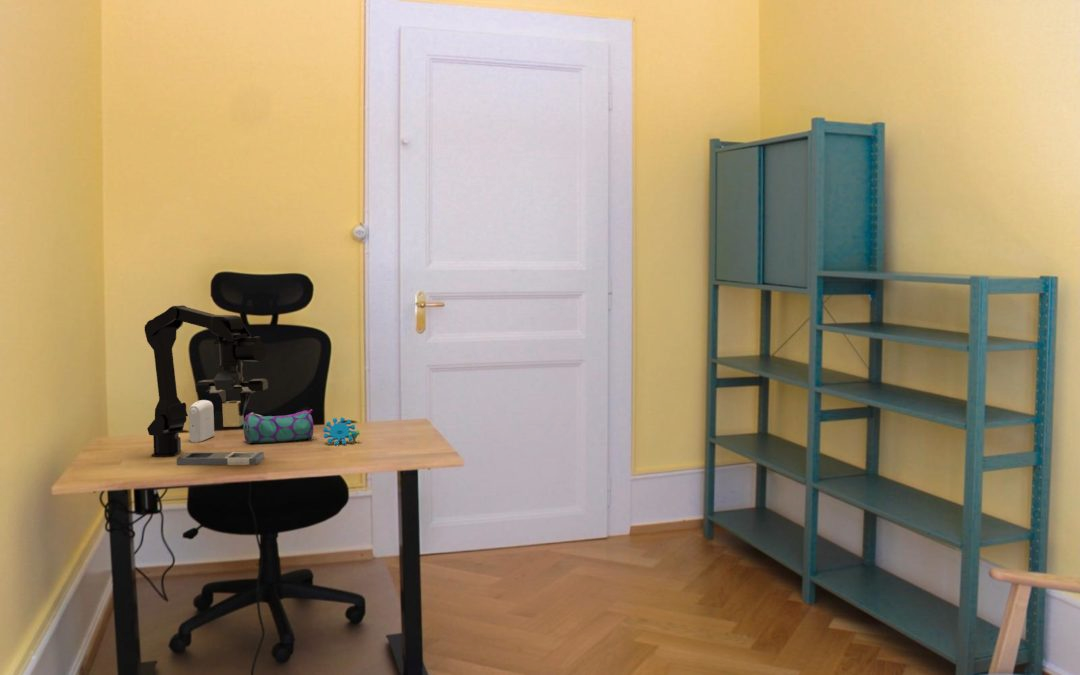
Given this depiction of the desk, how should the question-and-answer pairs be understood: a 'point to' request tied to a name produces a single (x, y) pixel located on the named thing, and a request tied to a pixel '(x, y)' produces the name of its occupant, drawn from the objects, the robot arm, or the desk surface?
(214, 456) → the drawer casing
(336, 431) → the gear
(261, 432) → the pencil case
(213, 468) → the desk surface
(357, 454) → the desk surface
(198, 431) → the photo printer
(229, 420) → the wooden pull-out drawer
